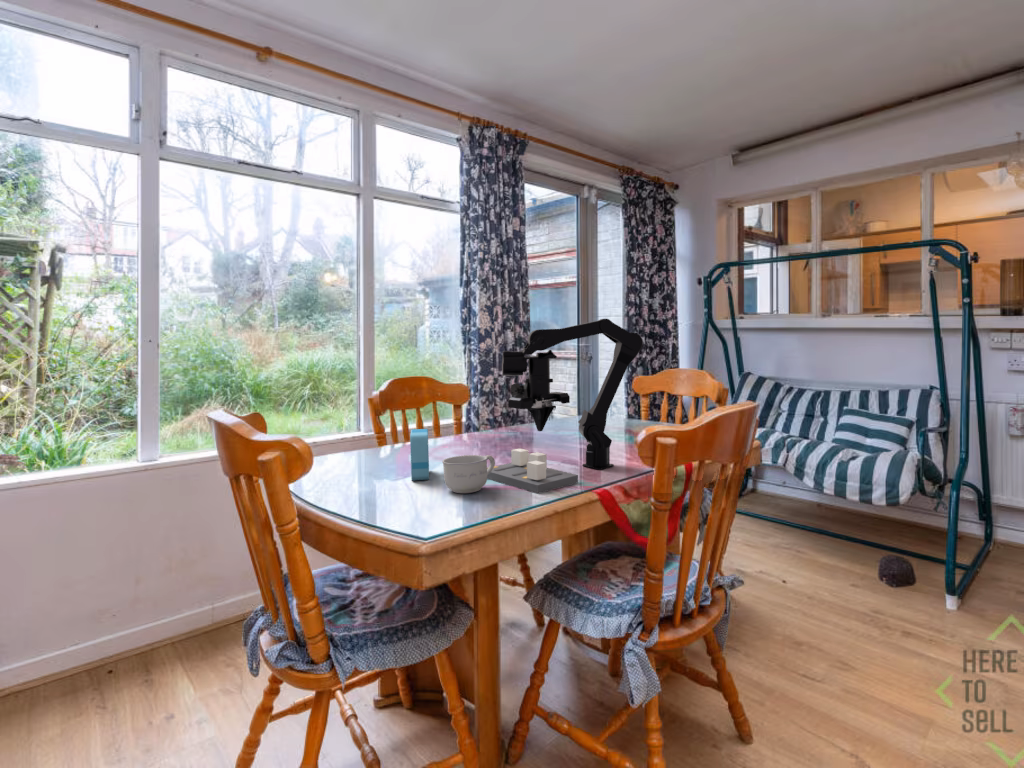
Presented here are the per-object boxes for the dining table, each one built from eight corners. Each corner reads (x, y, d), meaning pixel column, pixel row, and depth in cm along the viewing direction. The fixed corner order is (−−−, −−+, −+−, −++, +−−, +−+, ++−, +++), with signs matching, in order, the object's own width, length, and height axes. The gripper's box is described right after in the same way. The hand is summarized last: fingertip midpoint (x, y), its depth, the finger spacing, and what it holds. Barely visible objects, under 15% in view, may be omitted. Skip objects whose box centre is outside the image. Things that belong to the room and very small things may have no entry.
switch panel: (519, 468, 163) (519, 460, 162) (577, 482, 146) (577, 474, 146) (480, 476, 154) (480, 469, 153) (537, 493, 137) (537, 484, 137)
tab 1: (519, 462, 159) (519, 448, 159) (528, 464, 157) (528, 450, 156) (511, 463, 158) (511, 450, 157) (520, 466, 155) (520, 452, 154)
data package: (429, 481, 150) (427, 435, 149) (411, 482, 149) (410, 436, 148) (429, 470, 162) (427, 427, 161) (412, 471, 161) (411, 428, 160)
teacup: (453, 499, 133) (452, 465, 133) (436, 488, 143) (436, 456, 142) (507, 490, 140) (506, 458, 139) (487, 480, 149) (487, 450, 149)
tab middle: (537, 466, 154) (537, 452, 154) (546, 468, 151) (546, 454, 151) (528, 468, 152) (528, 453, 152) (538, 470, 150) (538, 456, 149)
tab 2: (535, 475, 144) (535, 460, 144) (546, 478, 142) (545, 462, 141) (527, 477, 142) (526, 462, 142) (537, 480, 140) (536, 464, 139)
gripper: (543, 371, 172) (543, 424, 173) (494, 375, 160) (495, 431, 161) (570, 373, 163) (571, 428, 165) (521, 377, 151) (522, 436, 153)
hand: (540, 431), depth 161 cm, fingers closed
